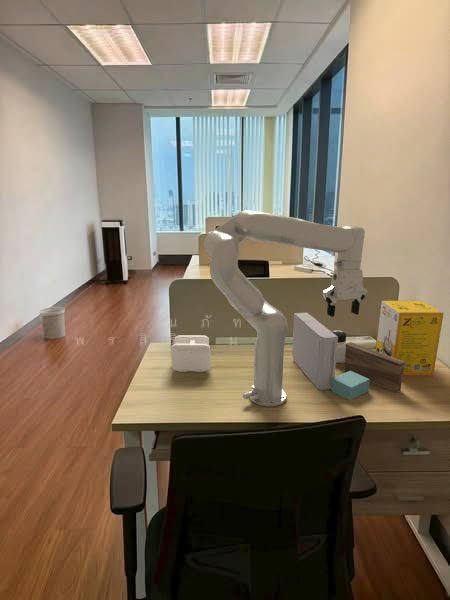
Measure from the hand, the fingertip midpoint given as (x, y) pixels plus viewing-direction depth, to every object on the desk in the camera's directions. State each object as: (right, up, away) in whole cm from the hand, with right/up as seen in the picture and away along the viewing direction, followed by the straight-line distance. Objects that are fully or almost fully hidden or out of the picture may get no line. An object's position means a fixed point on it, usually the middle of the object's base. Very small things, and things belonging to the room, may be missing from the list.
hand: (342, 314), depth 131 cm
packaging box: (+31, -22, +24) cm, 45 cm away
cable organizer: (-53, -22, +23) cm, 62 cm away
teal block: (+4, -27, +5) cm, 28 cm away
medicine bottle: (+6, -20, +30) cm, 37 cm away
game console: (-7, -23, +18) cm, 30 cm away
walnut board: (+14, -25, +13) cm, 31 cm away
